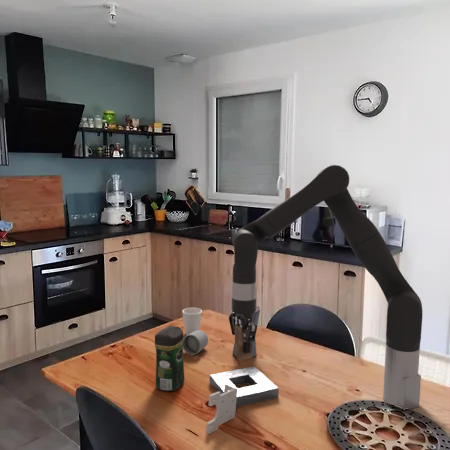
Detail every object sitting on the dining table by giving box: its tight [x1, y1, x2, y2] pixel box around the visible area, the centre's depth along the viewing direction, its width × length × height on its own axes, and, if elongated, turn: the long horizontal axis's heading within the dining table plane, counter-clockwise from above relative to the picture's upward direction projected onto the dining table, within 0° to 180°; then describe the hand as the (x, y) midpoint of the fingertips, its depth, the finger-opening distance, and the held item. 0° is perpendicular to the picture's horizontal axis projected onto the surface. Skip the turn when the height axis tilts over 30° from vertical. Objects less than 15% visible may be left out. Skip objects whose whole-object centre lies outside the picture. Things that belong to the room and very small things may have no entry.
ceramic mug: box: [183, 330, 209, 356], centre depth 168 cm, size 11×8×8 cm
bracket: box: [205, 384, 237, 435], centre depth 121 cm, size 11×4×10 cm, turn 141°
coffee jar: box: [154, 325, 185, 392], centre depth 140 cm, size 10×8×19 cm
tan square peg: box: [234, 324, 253, 361], centre depth 136 cm, size 4×4×10 cm
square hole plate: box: [209, 366, 280, 408], centre depth 138 cm, size 16×16×3 cm
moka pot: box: [228, 305, 261, 358], centre depth 164 cm, size 10×15×20 cm, turn 137°
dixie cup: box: [181, 307, 203, 336], centre depth 185 cm, size 8×8×10 cm
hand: (243, 349), depth 137 cm, fingers closed on tan square peg, 4 cm apart
